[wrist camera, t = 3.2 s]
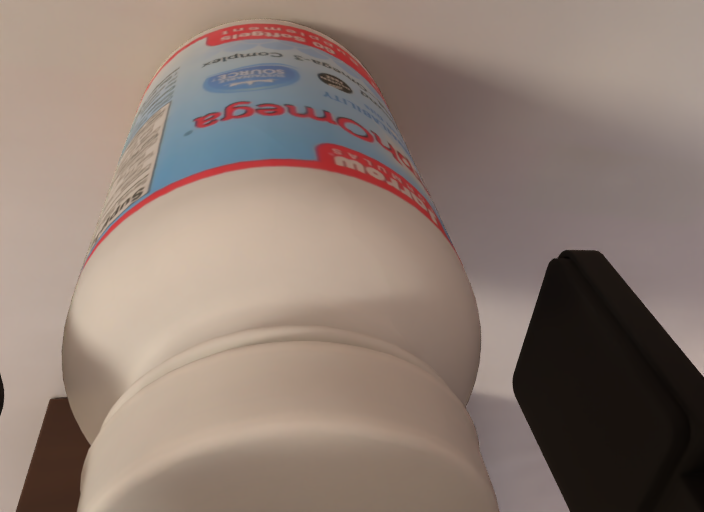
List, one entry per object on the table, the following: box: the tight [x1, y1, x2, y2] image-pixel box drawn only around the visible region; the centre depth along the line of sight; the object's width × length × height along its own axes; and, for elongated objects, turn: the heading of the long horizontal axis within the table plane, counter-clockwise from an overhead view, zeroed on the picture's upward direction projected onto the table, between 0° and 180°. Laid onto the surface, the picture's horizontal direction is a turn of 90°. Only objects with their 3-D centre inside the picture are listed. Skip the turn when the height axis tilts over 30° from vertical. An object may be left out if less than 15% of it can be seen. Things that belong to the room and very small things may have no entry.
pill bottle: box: [62, 19, 499, 512], centre depth 12 cm, size 6×6×11 cm
